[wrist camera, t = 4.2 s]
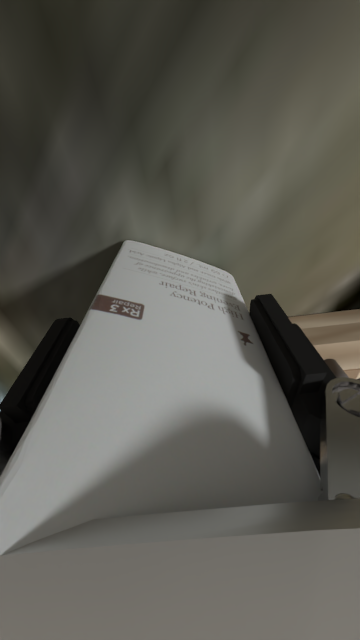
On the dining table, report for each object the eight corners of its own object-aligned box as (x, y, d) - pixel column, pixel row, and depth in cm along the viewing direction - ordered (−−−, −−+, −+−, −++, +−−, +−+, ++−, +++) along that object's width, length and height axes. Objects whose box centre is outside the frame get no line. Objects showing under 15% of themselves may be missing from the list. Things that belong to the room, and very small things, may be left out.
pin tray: (236, 322, 14) (253, 368, 11) (429, 301, 14) (499, 342, 11) (230, 438, 24) (238, 479, 21) (343, 427, 24) (368, 467, 21)
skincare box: (234, 270, 12) (490, 742, 2) (202, 331, 15) (269, 680, 5) (119, 234, 11) (-310, 995, 1) (106, 308, 13) (-56, 732, 4)
